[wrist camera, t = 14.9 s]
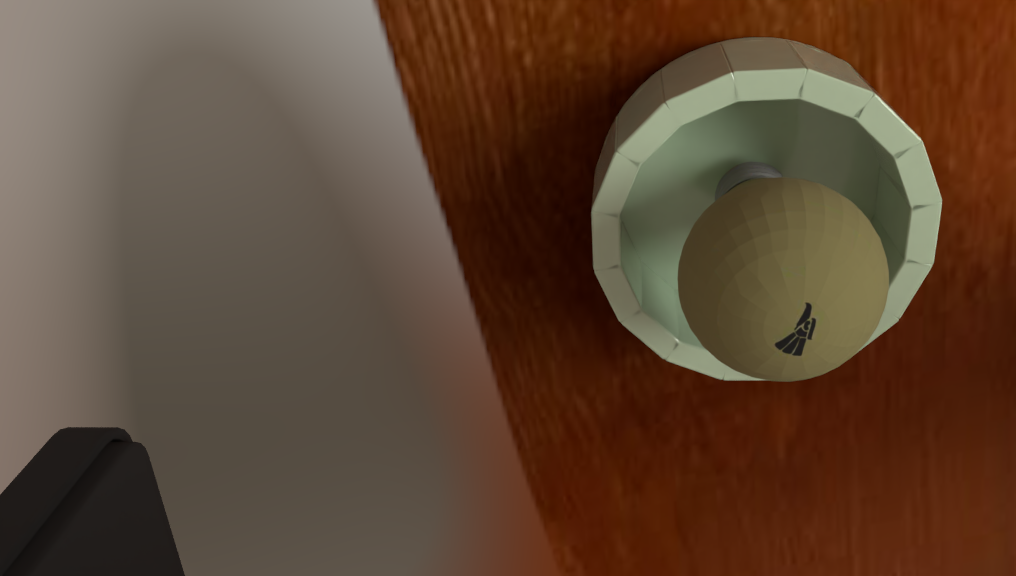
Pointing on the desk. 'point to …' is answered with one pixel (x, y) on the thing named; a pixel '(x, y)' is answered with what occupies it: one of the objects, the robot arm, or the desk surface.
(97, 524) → the robot arm
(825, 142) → the bowl
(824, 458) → the desk surface
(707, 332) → the light bulb
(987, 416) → the desk surface
